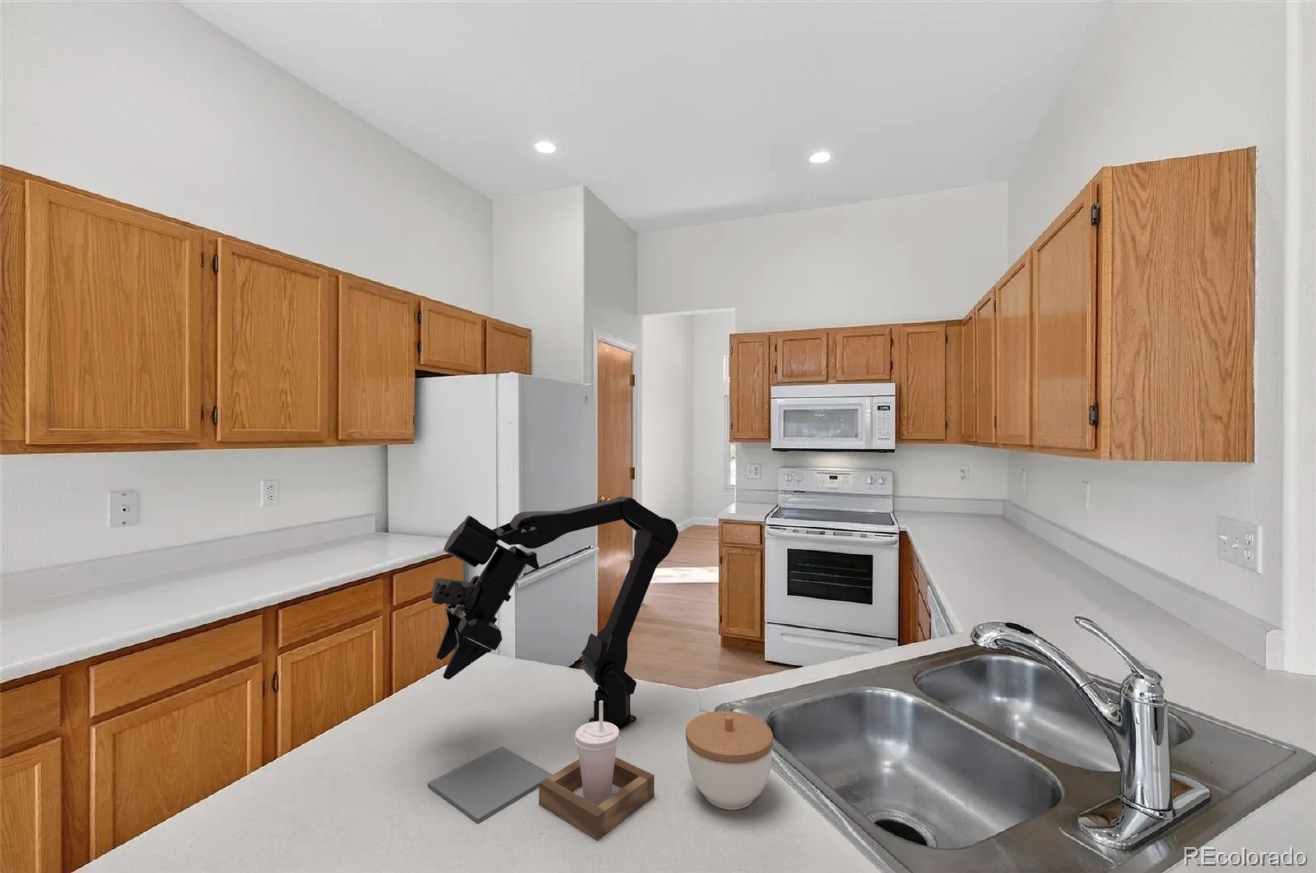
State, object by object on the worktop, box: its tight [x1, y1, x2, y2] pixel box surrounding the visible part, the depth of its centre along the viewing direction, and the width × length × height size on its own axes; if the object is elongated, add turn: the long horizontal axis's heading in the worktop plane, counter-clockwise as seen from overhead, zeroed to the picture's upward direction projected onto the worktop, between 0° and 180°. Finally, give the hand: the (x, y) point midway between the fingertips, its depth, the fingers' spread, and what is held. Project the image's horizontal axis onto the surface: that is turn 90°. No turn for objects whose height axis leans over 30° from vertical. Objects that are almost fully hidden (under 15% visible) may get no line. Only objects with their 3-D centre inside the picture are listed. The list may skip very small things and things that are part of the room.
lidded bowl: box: [685, 710, 774, 811], centre depth 80 cm, size 13×13×11 cm
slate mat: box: [427, 746, 554, 824], centre depth 83 cm, size 13×13×1 cm
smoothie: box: [574, 701, 621, 806], centre depth 79 cm, size 6×6×14 cm
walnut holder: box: [538, 756, 655, 841], centre depth 78 cm, size 12×12×3 cm
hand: (442, 667), depth 88 cm, fingers open, 9 cm apart
